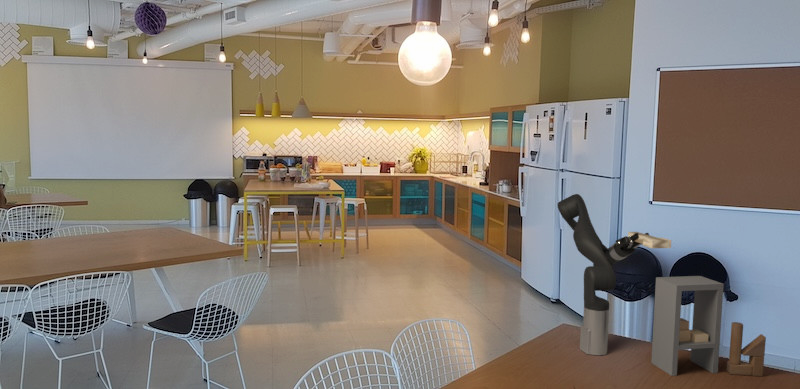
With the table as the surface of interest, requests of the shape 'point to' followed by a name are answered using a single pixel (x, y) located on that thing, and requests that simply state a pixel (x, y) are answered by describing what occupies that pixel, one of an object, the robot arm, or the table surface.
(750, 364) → the wooden block
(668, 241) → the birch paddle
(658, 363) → the frame
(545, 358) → the table surface
